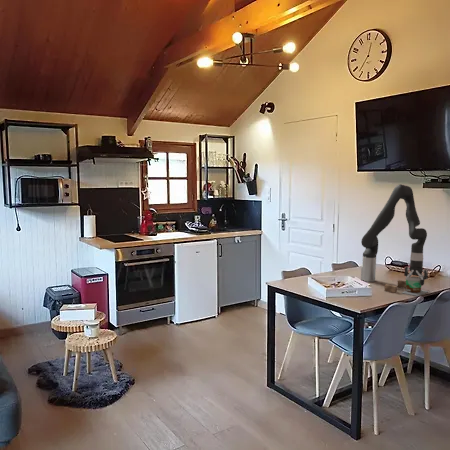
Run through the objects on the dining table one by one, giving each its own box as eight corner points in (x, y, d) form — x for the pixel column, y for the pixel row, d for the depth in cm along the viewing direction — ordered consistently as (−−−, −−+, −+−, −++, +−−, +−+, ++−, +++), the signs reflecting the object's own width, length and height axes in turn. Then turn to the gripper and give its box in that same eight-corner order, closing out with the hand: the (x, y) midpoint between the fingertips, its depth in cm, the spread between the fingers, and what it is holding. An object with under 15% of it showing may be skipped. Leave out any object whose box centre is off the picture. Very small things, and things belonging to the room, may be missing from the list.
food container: (411, 293, 289) (411, 278, 288) (404, 291, 295) (405, 276, 294) (427, 292, 292) (427, 277, 291) (420, 290, 298) (421, 275, 297)
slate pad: (401, 293, 292) (401, 292, 292) (412, 289, 303) (412, 288, 303) (417, 296, 285) (417, 295, 285) (428, 292, 296) (428, 291, 296)
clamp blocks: (384, 290, 298) (384, 284, 298) (399, 285, 313) (399, 280, 312) (394, 293, 293) (394, 286, 293) (409, 287, 308) (409, 281, 307)
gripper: (403, 258, 294) (402, 283, 296) (425, 261, 284) (423, 287, 286) (408, 257, 300) (407, 281, 301) (430, 260, 289) (429, 285, 291)
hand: (415, 284), depth 294 cm, fingers open, 8 cm apart
